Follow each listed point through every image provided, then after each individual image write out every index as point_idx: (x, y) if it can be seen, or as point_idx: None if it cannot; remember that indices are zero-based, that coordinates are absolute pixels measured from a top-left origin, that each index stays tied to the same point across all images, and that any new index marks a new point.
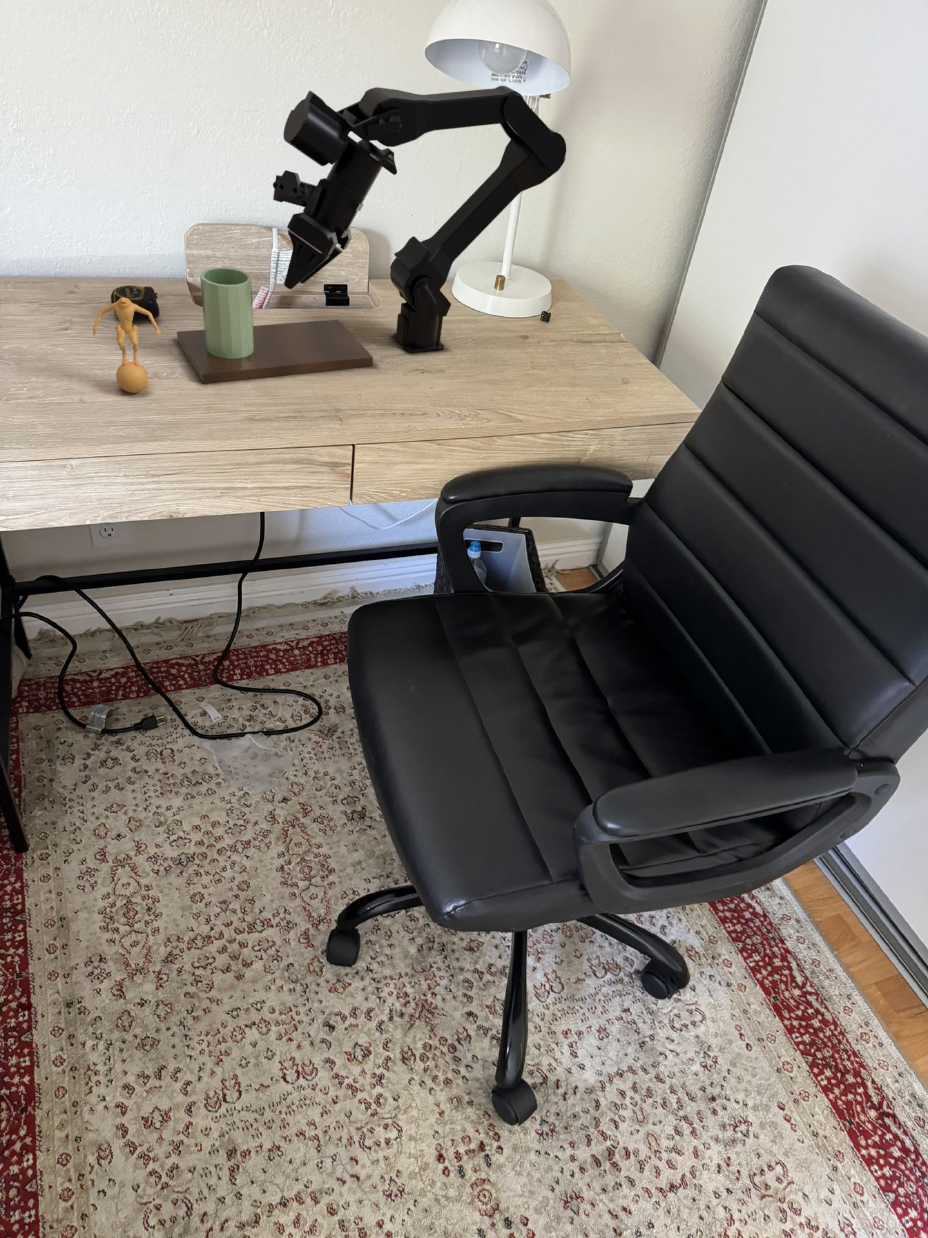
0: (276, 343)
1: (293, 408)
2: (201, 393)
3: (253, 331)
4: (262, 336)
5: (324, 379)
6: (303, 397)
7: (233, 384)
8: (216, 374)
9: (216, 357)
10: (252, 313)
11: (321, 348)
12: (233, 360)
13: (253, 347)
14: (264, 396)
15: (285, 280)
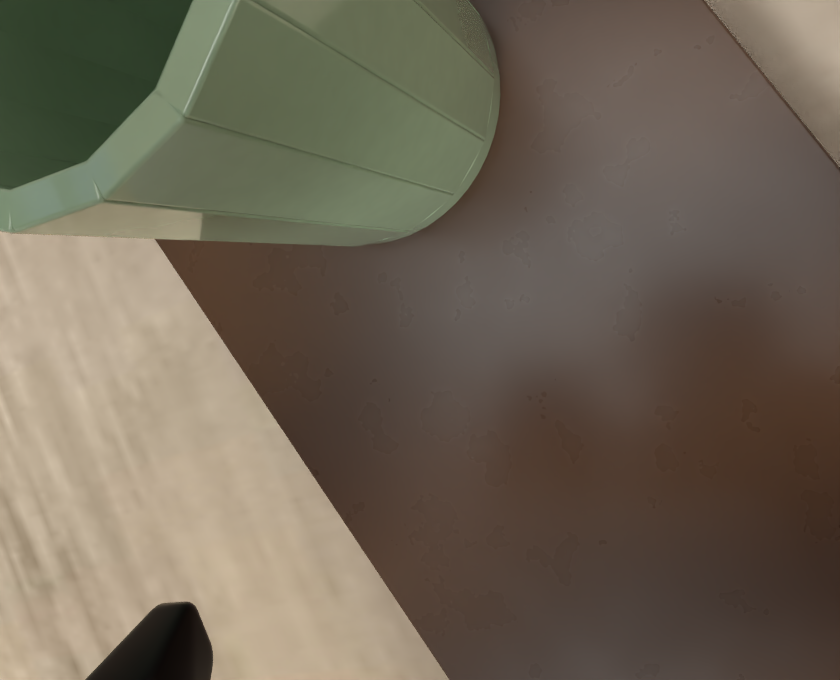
0: (548, 336)
1: (82, 543)
2: None
3: (371, 231)
4: (615, 217)
5: (366, 638)
6: (174, 567)
7: (152, 241)
8: None
9: None
10: (285, 231)
11: (602, 619)
12: None
13: (379, 241)
14: (117, 405)
15: (120, 646)
